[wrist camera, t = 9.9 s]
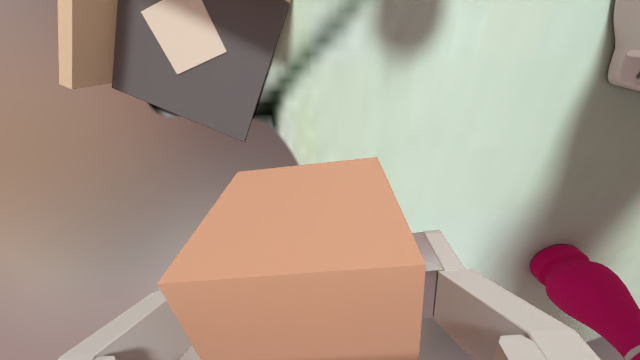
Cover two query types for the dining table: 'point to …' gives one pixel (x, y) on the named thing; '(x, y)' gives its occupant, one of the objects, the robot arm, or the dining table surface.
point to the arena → (174, 53)
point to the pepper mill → (590, 296)
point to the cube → (301, 269)
